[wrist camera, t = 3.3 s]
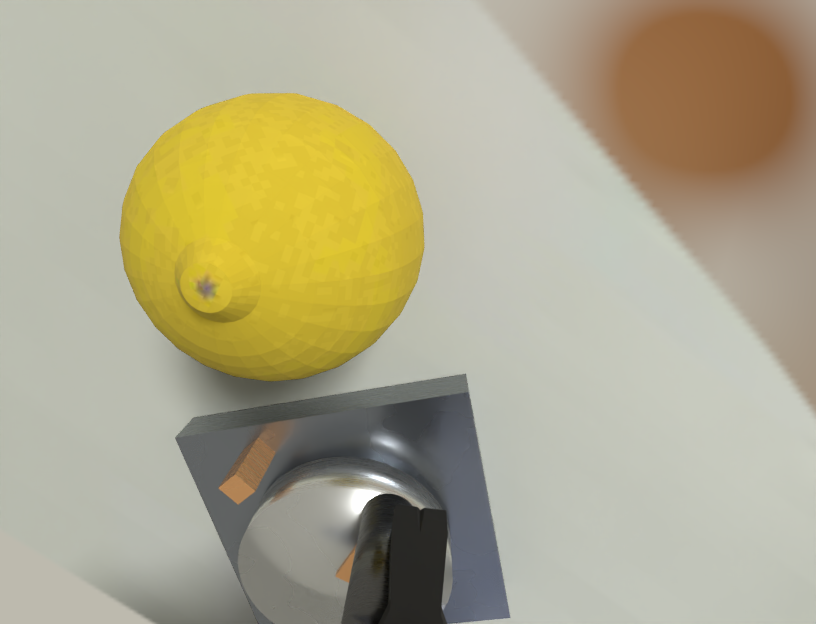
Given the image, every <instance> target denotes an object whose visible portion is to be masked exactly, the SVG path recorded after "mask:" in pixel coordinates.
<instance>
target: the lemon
mask: <svg viewBox="0 0 816 624" xmlns="http://www.w3.org/2000/svg"><path fill="white" fill-rule="evenodd" d="M119 238H120V244H121V251H122V257H123V263H124V269H125V272H126V274H127V277H128V279H129V282H130V284H131V287H132V289H133V292H134V294H135V296H136V299H137V301H138V302H139V304H140V305H141V307H142V308H143V310H144V311H145V312H146V314H147V315H148V317H149V318H150V320H151V321H152V323H153V324H154V326H155V327H156V328H157V329H158V330H159V331H160V332H161V333H162V334H163V335H164V336H165V337H167V338H168V339H169V340H170V341H171V342H172V343H173V344H174V345H175V346H176V347H177V348H178V349H179V350H181V351H183V352H184V353H186V354H187V355H189V356H191V357H192V358H194V359H195V360H197V361H199V362H200V363H202V364H203V365H205V366H208V367H210V368H213V369H216V370H218V371H221V372H224V373H226V374H229V375H232V376H235V377H242V378H249V379H256V380H263V381H282V380H293V379H302V378H306V377H310V376H313V375H315V374H318V373H321V372H324V371H327V370H330V369H333V368H336V367H339V366H340V365H342V364H344V363H345V362H347V361H349V360H350V359H352V358H353V357H355V356H356V355H358V354H359V353H361V352H362V351H364V350H365V349H367V348H368V347H370V346H371V345H372V344H374V343H375V342H376V341H377V340H378V339H379V338H380V336H381V335H382V334H383V333H384V332H385V331H386V330H387V329H388V327H389V326H390V325H391V324H392V323H393V322H394V321H395V319H396V318H397V317H398V316H399V315H400V313H401V312H402V310H403V308H404V306H405V304H406V302H407V300H408V298H409V296H410V294H411V292H412V290H413V288H414V286H415V284H416V283H417V279H418V275H419V271H420V266H421V261H422V257H423V252H424V228H423V212H422V208H421V205H420V202H419V198H418V195H417V192H416V188H415V185H414V182H413V179H412V178H411V176H410V174H409V173H408V171H407V169H406V167H405V166H404V164H403V162H402V161H401V159H400V157H399V156H398V154H397V152H396V151H395V150H394V149H393V148H392V147H391V146H390V145H389V144H388V143H387V142H386V141H385V140H384V139H383V138H382V137H381V136H380V135H379V134H378V133H377V132H376V131H375V130H374V129H373V128H372V127H371V126H370V125H369V124H367V123H366V122H364V121H362V120H361V119H359V118H357V117H356V116H354V115H352V114H351V113H349V112H347V111H346V110H344V109H342V108H341V107H339V106H337V105H334V104H331V103H327V102H324V101H320V100H317V99H313V98H310V97H306V96H303V95H299V94H294V93H264V94H247V95H242V96H239V97H236V98H233V99H229V100H226V101H223V102H219V103H216V104H213V105H210V106H207V107H204V108H201V109H199V110H198V111H196V112H194V113H193V114H191V115H190V116H188V117H187V118H185V119H184V120H182V121H181V122H179V123H178V124H176V125H175V126H173V127H172V128H170V129H169V130H168V131H166V132H165V133H163V135H162V136H161V137H160V138H159V139H158V140H157V141H156V143H155V144H154V145H153V146H152V148H151V149H150V150H149V152H148V153H147V154H146V155H145V157H144V158H143V159H142V161H141V162H140V163H139V164H138V166H137V167H136V170H135V172H134V175H133V178H132V180H131V183H130V185H129V188H128V190H127V193H126V196H125V198H124V202H123V207H122V217H121V227H120V237H119Z"/></svg>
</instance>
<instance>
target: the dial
mask: <svg viewBox="0 0 816 624" xmlns="http://www.w3.org/2000/svg"><path fill="white" fill-rule="evenodd" d="M395 504H397V505H406V506H414V507H418V508H419V509H420V510H421V509H423V508H431V509H440V510H443V509H442V507H441V506H440V504H439V502H438V501H437V500H436V498H435V497H434V496H433V495H432V493H431V492H430V491H429V490H428V489H427V488H426V487H425V486H424V485H423V484H421V483H420V482H419V481H417V480H416V479H415V478H413V477H412V476H410V475H408V474H407V473H405V472H403V471H402V470H400V469H397V468H395V467H393V466H390V465H388V464H385V463H382V462H379V461H375V460H371V459H365V458H359V457H329V458H322V459H317V460H314V461H310V462H307V463H304V464H302V465H299V466H297V467H295V468H293V469H291V470H290V471H288V472H286V473H285V474H283V475H282V476H281V477H279V478H278V479H277V480H276V481H275V482H274V483H273V484H272V485H271V486H270V487H269V489H268V490H267V491H266V493H265V494H264V496H263V498H262V500H261V502H260V504H259V506H258V508H257V510H256V512H255V514H254V516H253V518H252V520H251V522H250V524H249V526H248V528H247V530H246V532H245V534H244V536H243V538H242V540H241V544H240V548H239V553H238V568H239V574H240V578H241V582H242V584H243V586H244V589H245V591H246V593H247V594H248V596H249V598H250V599H251V601H252V602H253V603H254V605H255V606H256V607H257V608H258V610H259V611H260V612H261V613H262V614H264V615H265V616H266V617H267V618H268V619H269V620H270V621H272V622H273V623H274V624H378V623H379V621H380V619H381V617H382V615H383V613H384V611H385V609H386V607H387V605H388V587H389V555H390V543H391V531H392V523H393V516H394V509H395ZM447 529H448V537H447V549H446V560H445V572H444V583H443V595H442V606H441V607H442V610H444V608H445V606H446V604H447V603H448V600H449V597H450V594H451V590H452V582H453V577H452V557H451V537H450V529H449V524H448V520H447Z"/></svg>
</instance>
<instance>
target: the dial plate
mask: <svg viewBox="0 0 816 624" xmlns="http://www.w3.org/2000/svg"><path fill="white" fill-rule="evenodd" d="M175 439H176V441H177V443H178V445H179V447H180V450H181V452H182V454H183V456H184V459H185V461H186V463H187V465H188V468H189V470H190V472H191V474H192V477H193V479H194V481H195V483H196V485H197V488H198V490H199V492H200V494H201V497H202V499H203V501H204V503H205V506H206V508H207V510H208V512H209V515H210V517H211V519H212V521H213V523H214V526H215V528H216V530H217V532H218V535H219V537H220V539H221V541H222V544H223V546H224V548H225V550H226V552H227V555H228V557H229V559H230V561H231V564H232V566H233V568H234V570H235V573H236V575H237V577H238V579H239V582H240V584H241V586H242V588H243V590H244V593H245V595H246V597H247V599H248V602H249V604H250V606H251V608H252V611H253V613H254V615H255V617H256V620H257V622H258V624H274V623H273V622H272V621H270V620H269V619H268V618H267V617H266V616H265V615H264V614H262V613H261V612H260V611H259V610H258V608H257V607H256V606H255V605H254V603H253V602H252V601H251V599H250V598H249V596H248V594H247V593H246V591H245V589H244V586H243V584H242V582H241V578H240V574H239V568H238V553H239V548H240V544H241V540H242V538H243V536H244V534H245V532H246V530H247V528H248V526H249V524H250V522H251V520H252V518H253V516H254V514H255V512H256V510H257V508H258V506H259V504H260V502H261V500H262V498H263V496H264V494H265V493H266V491H267V490H268V489H269V487H270V486H271V485H272V484H273V483H274V482H275V481H276V480H277V479H278V478H279V477H281V476H282V475H283V474H285V473H286V472H288V471H290V470H291V469H293V468H295V467H297V466H299V465H302V464H304V463H307V462H310V461H314V460H317V459H322V458H329V457H359V458H365V459H371V460H375V461H379V462H382V463H385V464H388V465H390V466H393V467H395V468H397V469H400V470H402V471H403V472H405V473H407V474H408V475H410V476H412V477H413V478H415V479H416V480H417V481H419V482H420V483H421V484H423V485H424V486H425V487H426V488H427V489H428V490H429V491H430V492H431V493H432V495H433V496H434V497H435V498H436V500H437V501H438V502H439V504H440V506H441V507H442V509H443V510H446V513H447V520H448V524H449V529H450V537H451V557H452V577H453V582H452V590H451V594H450V597H449V600H448V603H447V604H446V606H445V608H444V610H443V613H444V616H445V619H446V622H447V624H450V623H460V622H471V621H482V620H492V619H503V618H510V614H509V608H508V602H507V596H506V590H505V585H504V579H503V574H502V568H501V563H500V558H499V552H498V547H497V541H496V536H495V530H494V525H493V519H492V514H491V509H490V503H489V498H488V492H487V487H486V481H485V476H484V471H483V465H482V460H481V454H480V449H479V443H478V438H477V432H476V427H475V422H474V416H473V411H472V405H471V400H470V394H469V389H468V383H467V378H466V374H463V375H457V376H451V377H444V378H438V379H432V380H426V381H419V382H413V383H407V384H401V385H395V386H388V387H382V388H376V389H370V390H363V391H357V392H351V393H345V394H339V395H332V396H326V397H320V398H314V399H307V400H301V401H295V402H289V403H283V404H276V405H270V406H264V407H258V408H251V409H245V410H239V411H233V412H227V413H220V414H214V415H208V416H202V417H195V418H193V419H192V420H191V421H190V422H189V423H188V424H187V425H186V427H185V428H184V429H183V430H182V431H181V432H180V433H179V434H178V435H177V436H176V437H175Z"/></svg>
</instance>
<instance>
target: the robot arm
mask: <svg viewBox="0 0 816 624" xmlns="http://www.w3.org/2000/svg"><path fill="white" fill-rule="evenodd" d="M447 537H448V529H447V513H446V510H440V509H431V508H423V509H421V510H420V509H419V508H418V507H414V506H406V505H397V504H395V509H394V516H393V523H392V531H391V543H390V555H389V587H388V605H387V607H386V609H385V611H384V613H383V615H382V617H381V619H380V621H379V623H378V624H447V622H446V619H445V616H444V613H443V610H442V607H441V606H442V595H443V583H444V572H445V560H446V549H447Z"/></svg>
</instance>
